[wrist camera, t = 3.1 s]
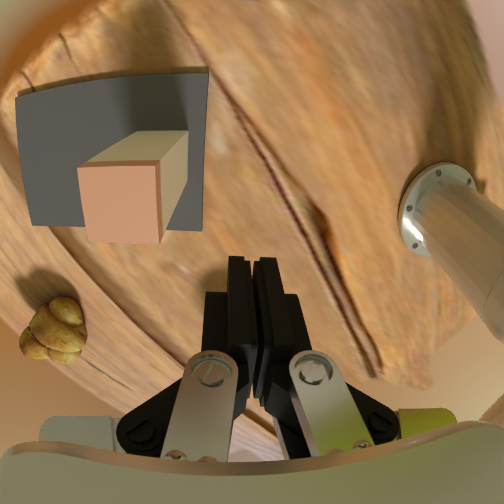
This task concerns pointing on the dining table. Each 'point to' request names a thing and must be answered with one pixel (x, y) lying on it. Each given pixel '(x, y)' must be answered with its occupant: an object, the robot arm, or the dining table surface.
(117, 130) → the rubber mat
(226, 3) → the dining table surface
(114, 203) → the cream block
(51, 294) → the dining table surface
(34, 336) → the bread roll
